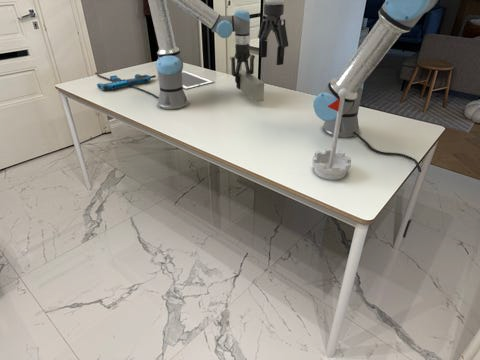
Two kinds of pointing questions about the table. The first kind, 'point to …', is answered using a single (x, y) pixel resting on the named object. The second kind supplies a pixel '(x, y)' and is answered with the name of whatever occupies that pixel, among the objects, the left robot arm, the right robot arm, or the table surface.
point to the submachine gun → (124, 82)
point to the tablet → (193, 80)
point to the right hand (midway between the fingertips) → (271, 60)
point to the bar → (251, 86)
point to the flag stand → (333, 149)
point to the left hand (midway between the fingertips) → (242, 87)
